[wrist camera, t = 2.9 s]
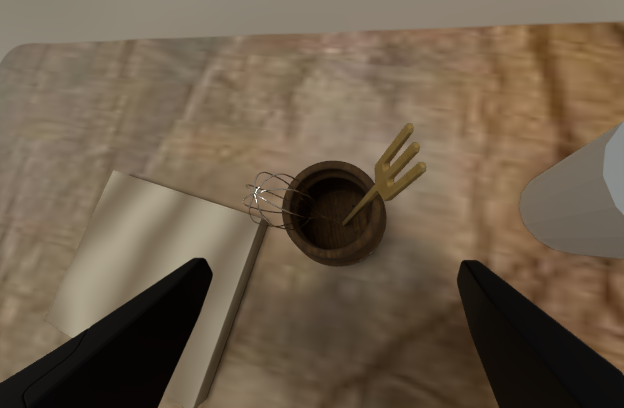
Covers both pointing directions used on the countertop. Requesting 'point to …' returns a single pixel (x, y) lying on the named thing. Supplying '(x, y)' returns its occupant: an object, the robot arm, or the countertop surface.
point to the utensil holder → (342, 204)
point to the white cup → (581, 200)
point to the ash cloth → (160, 268)
